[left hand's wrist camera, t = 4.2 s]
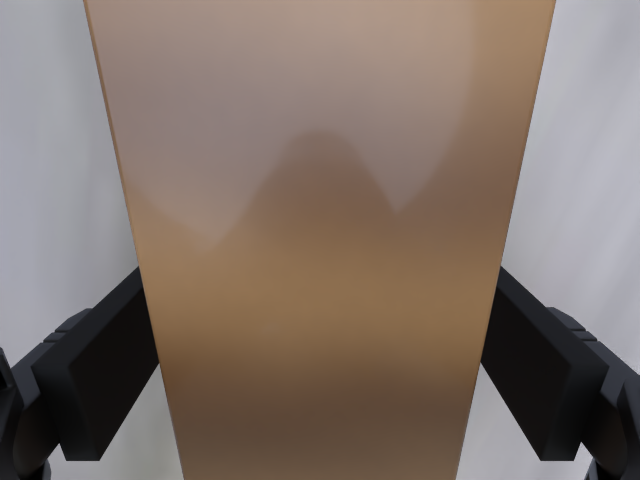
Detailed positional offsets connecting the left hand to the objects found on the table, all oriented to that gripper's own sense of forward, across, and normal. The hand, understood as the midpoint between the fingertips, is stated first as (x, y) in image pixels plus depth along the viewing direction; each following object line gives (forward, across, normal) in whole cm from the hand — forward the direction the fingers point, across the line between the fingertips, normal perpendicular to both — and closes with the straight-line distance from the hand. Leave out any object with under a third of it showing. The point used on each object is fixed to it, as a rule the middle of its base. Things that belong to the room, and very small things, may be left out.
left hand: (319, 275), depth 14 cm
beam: (+1, 0, -24) cm, 24 cm away
